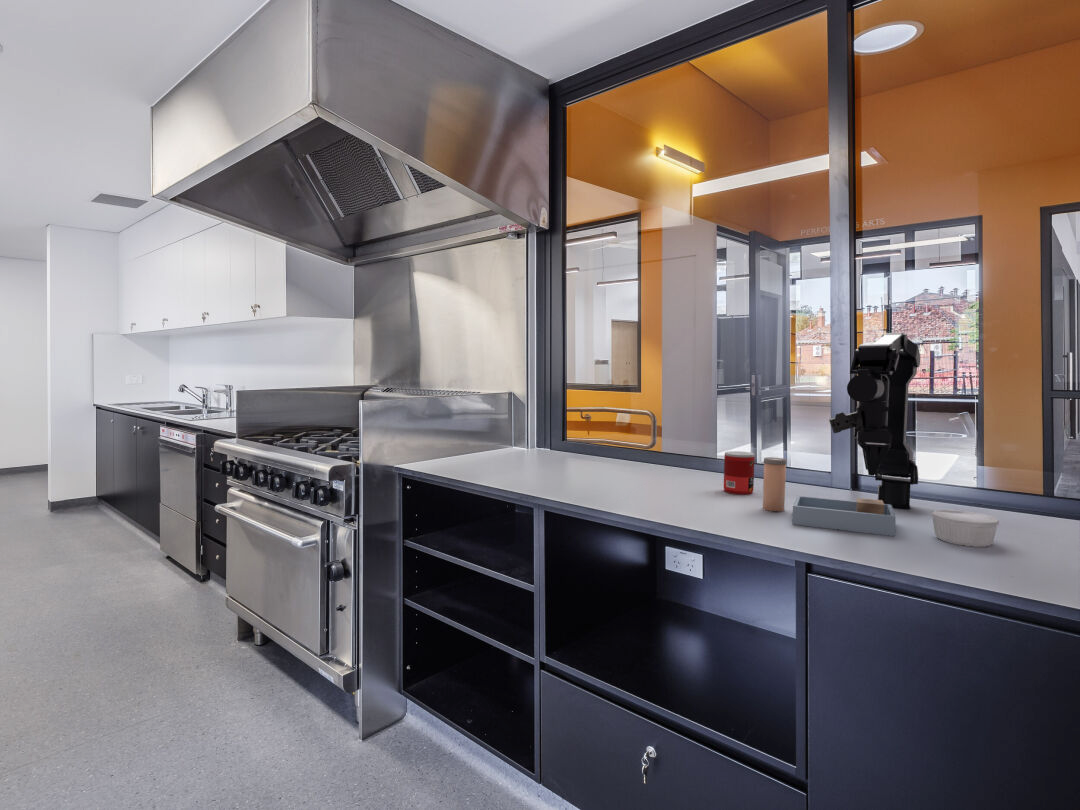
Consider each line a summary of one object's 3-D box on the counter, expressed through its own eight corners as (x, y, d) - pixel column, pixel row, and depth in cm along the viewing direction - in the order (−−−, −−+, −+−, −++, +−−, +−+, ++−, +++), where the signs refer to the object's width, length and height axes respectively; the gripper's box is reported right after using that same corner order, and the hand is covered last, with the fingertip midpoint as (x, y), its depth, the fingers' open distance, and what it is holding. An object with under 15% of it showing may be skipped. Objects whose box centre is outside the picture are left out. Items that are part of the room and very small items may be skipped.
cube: (881, 522, 132) (882, 500, 131) (883, 527, 127) (884, 504, 127) (856, 519, 134) (857, 497, 134) (856, 524, 130) (857, 502, 129)
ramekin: (963, 532, 127) (964, 508, 127) (1012, 548, 116) (1014, 521, 116) (917, 534, 125) (918, 509, 125) (963, 550, 114) (964, 523, 114)
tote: (890, 522, 134) (891, 504, 134) (894, 536, 123) (895, 516, 123) (796, 512, 143) (796, 495, 143) (792, 524, 132) (792, 506, 132)
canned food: (755, 495, 163) (756, 455, 162) (725, 493, 164) (726, 454, 163) (751, 489, 170) (752, 451, 169) (722, 488, 172) (723, 450, 171)
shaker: (785, 508, 147) (787, 458, 146) (783, 512, 143) (785, 461, 142) (763, 506, 150) (765, 456, 149) (760, 510, 145) (762, 459, 144)
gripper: (831, 399, 141) (828, 464, 142) (832, 401, 125) (829, 475, 125) (885, 400, 137) (882, 468, 137) (894, 403, 120) (890, 480, 121)
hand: (869, 472), depth 130 cm, fingers open, 9 cm apart
